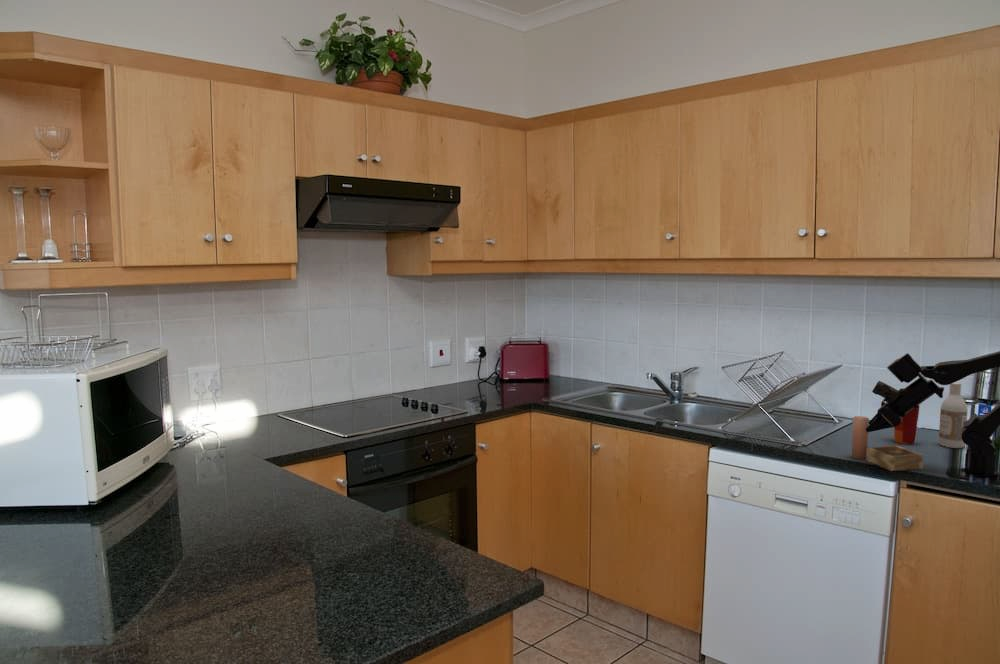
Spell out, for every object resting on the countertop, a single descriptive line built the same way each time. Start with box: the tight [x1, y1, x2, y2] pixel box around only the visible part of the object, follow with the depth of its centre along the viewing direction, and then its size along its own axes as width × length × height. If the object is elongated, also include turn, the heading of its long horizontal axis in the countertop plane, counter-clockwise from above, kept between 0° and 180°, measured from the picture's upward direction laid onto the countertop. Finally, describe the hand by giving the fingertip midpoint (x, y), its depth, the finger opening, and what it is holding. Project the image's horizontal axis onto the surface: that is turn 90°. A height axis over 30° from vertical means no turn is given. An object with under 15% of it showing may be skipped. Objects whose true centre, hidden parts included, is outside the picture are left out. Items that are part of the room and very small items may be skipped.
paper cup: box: [893, 403, 922, 445], centre depth 225 cm, size 8×8×14 cm
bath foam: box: [938, 381, 968, 449], centre depth 220 cm, size 7×7×20 cm
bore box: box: [865, 445, 924, 472], centre depth 202 cm, size 10×10×4 cm
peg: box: [851, 415, 870, 460], centre depth 209 cm, size 4×4×12 cm
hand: (868, 427), depth 207 cm, fingers open, 9 cm apart
